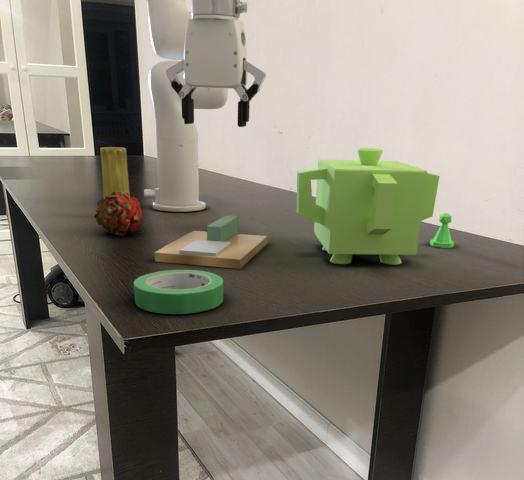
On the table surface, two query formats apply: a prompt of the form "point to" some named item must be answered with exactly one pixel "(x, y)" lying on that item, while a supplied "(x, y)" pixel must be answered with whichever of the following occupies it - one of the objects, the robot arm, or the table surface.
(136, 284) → the tape roll
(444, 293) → the table surface
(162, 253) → the cutting board
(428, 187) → the green handled cubic container
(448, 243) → the game piece
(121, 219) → the dragon fruit
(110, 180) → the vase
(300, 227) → the table surface
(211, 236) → the spatula
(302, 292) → the table surface
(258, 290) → the table surface
